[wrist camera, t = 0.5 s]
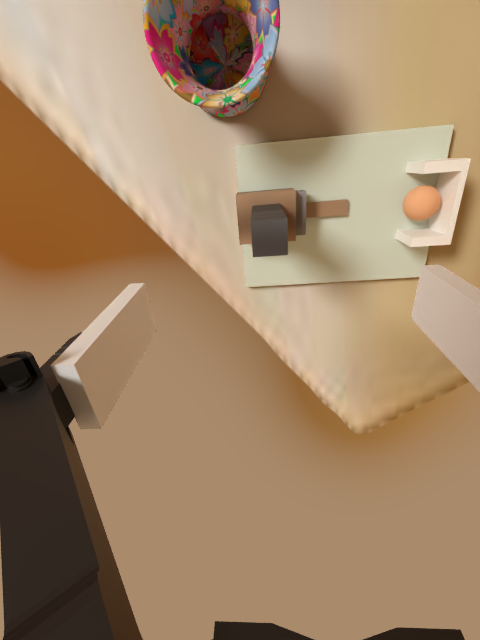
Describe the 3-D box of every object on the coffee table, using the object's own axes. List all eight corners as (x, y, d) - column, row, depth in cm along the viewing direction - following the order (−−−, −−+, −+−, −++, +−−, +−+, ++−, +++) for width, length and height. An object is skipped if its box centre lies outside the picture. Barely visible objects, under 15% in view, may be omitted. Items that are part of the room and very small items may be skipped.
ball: (452, 184, 30) (430, 182, 33) (418, 188, 30) (398, 185, 33) (444, 221, 32) (423, 216, 35) (411, 224, 31) (393, 219, 34)
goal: (407, 161, 32) (425, 162, 28) (447, 158, 32) (471, 158, 28) (395, 238, 36) (410, 247, 32) (431, 236, 35) (450, 244, 32)
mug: (290, 81, 30) (305, 45, 21) (216, 142, 33) (199, 136, 24) (218, -64, 26) (197, -191, 16) (140, 21, 29) (82, -45, 19)
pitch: (235, 146, 33) (234, 145, 32) (448, 125, 31) (457, 123, 30) (245, 284, 40) (245, 289, 39) (419, 274, 39) (425, 278, 37)
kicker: (237, 192, 33) (228, 207, 23) (304, 186, 33) (326, 200, 22) (241, 238, 36) (234, 271, 25) (303, 233, 35) (323, 266, 24)
